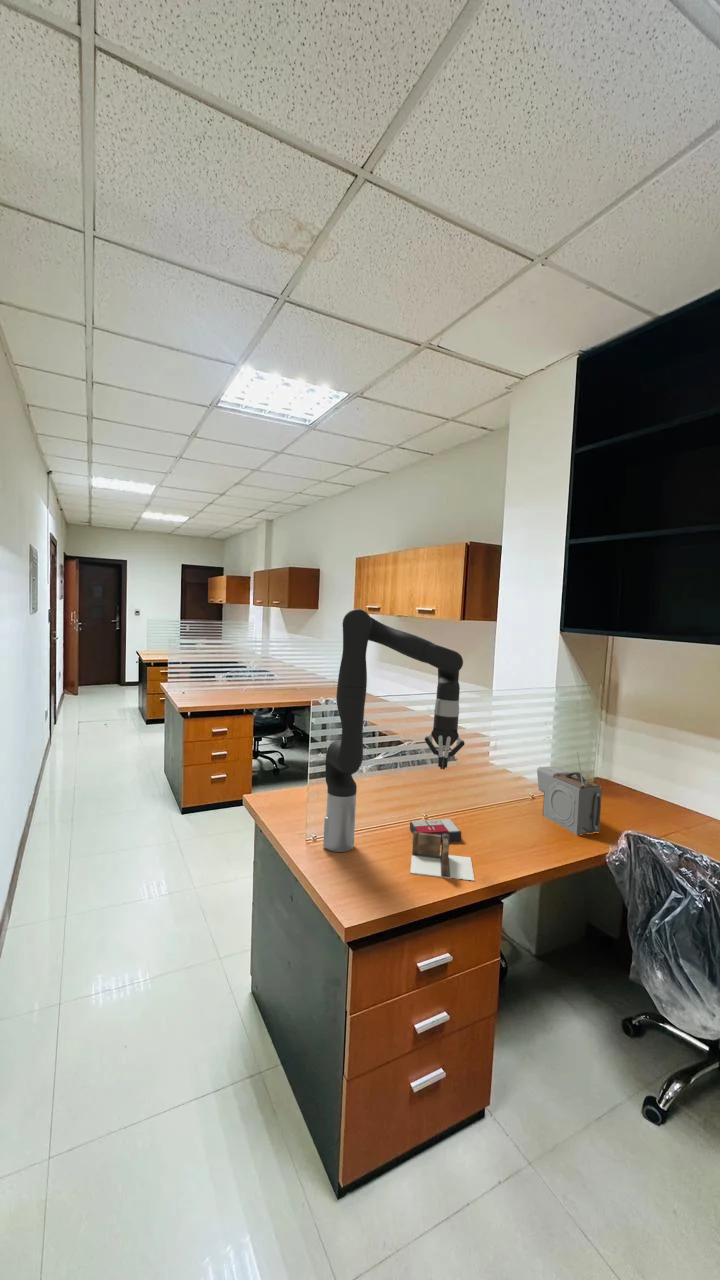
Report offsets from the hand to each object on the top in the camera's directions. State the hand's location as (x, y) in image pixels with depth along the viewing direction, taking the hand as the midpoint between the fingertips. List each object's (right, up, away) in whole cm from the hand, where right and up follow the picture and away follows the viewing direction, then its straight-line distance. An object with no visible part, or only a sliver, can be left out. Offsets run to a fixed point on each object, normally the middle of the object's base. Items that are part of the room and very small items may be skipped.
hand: (442, 768), depth 151 cm
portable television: (+52, -29, +31) cm, 67 cm away
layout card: (-2, -27, -8) cm, 28 cm away
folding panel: (-1, -26, -10) cm, 28 cm away
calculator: (0, -27, +13) cm, 30 cm away
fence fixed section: (-4, -26, -3) cm, 27 cm away
